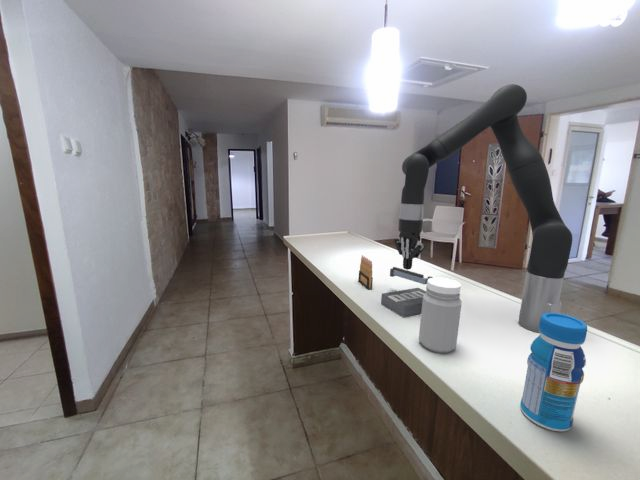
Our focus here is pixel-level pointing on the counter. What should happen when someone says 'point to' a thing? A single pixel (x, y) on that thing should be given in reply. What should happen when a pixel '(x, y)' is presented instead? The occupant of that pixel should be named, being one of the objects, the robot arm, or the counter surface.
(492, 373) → the counter surface
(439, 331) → the jar
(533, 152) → the robot arm
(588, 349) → the counter surface
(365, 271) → the ammunition clip
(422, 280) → the bar
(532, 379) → the beverage bottle
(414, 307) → the grey block
